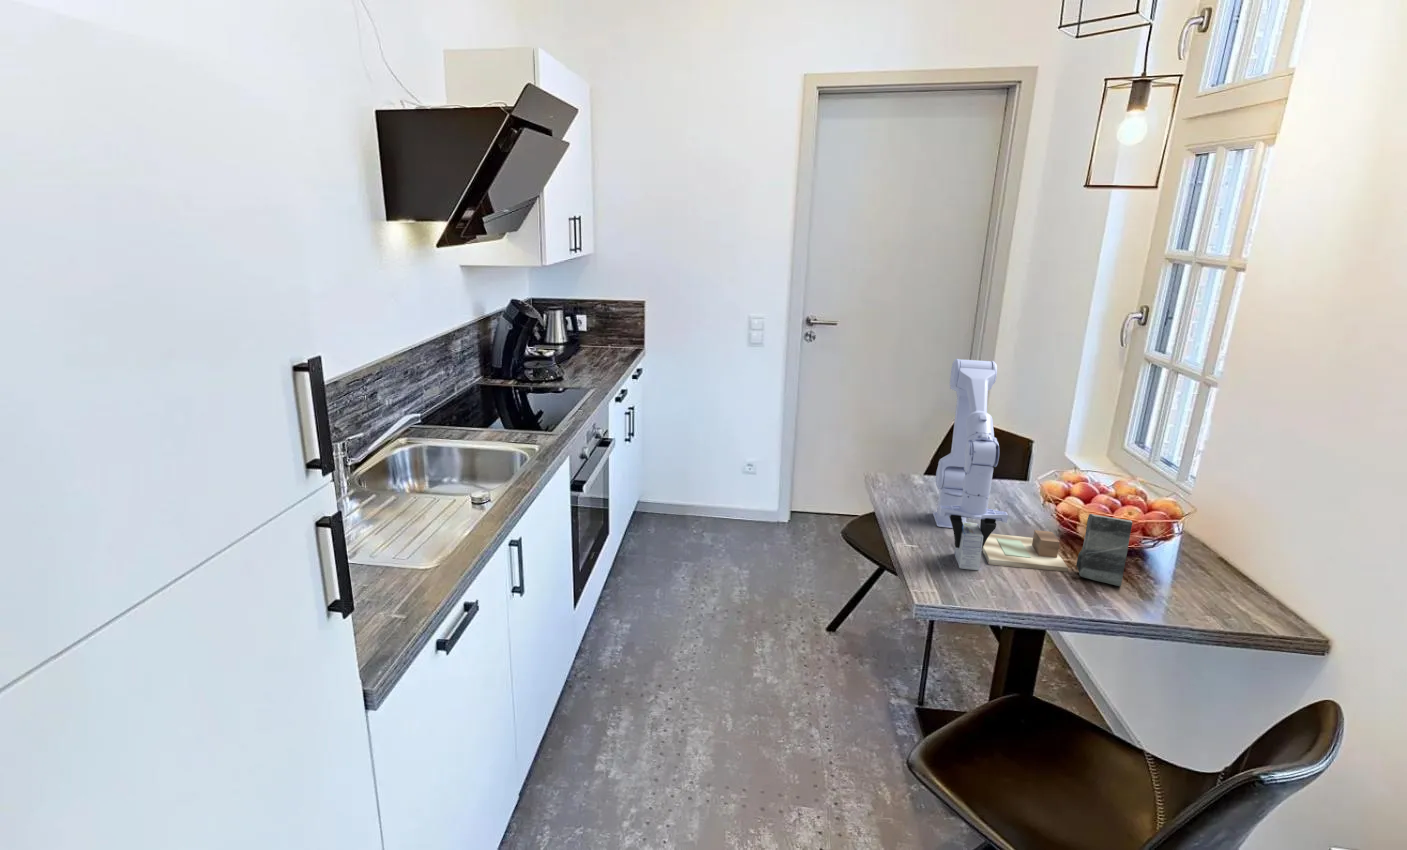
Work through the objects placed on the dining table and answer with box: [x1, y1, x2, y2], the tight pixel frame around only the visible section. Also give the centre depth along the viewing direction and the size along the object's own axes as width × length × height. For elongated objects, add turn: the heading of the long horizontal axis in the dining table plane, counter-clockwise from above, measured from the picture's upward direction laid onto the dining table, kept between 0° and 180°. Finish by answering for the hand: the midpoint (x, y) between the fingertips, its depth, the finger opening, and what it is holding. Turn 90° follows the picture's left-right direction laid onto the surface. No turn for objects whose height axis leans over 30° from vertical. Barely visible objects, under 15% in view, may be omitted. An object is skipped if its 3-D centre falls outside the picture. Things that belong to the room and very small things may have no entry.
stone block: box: [1076, 513, 1133, 587], centre depth 153 cm, size 9×14×5 cm
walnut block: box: [1032, 529, 1060, 558], centre depth 164 cm, size 6×4×4 cm, turn 169°
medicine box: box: [953, 521, 983, 571], centre depth 160 cm, size 8×4×9 cm, turn 168°
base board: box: [981, 533, 1069, 573], centre depth 166 cm, size 16×17×2 cm
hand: (968, 547), depth 160 cm, fingers closed on medicine box, 4 cm apart
